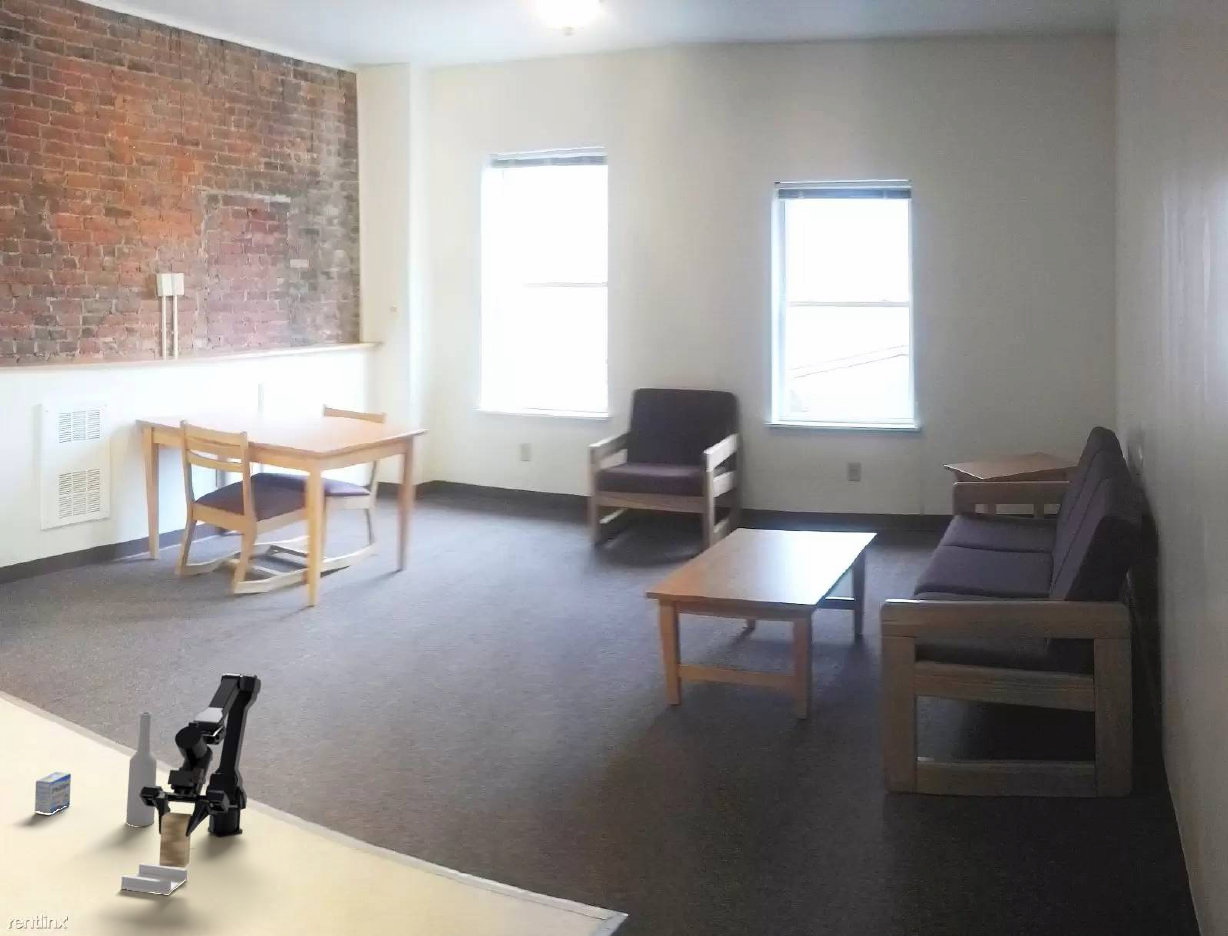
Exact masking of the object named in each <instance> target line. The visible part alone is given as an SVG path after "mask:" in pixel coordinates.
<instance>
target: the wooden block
mask: <svg viewBox="0 0 1228 936" xmlns="http://www.w3.org/2000/svg"><path fill="white" fill-rule="evenodd" d="M192 814H193V813H182V812H172V811H170V812H167V813H166V814H164V815H163V816H162V821H161V835H160V842H159V843H160V844H159V845H160V847H159V861H158V862H159V864H158V865H159V866H169V867H177V868H184V869H185V867H186V866H187V865H188V864H189V863H190V855H191V854H190V853H191V851H190V850H191V848H190V847H191V836H192V833H191V834H190V835H189V836H188V837H186V835H185V834H186V831H187V827H188V824H189V822H190V819H191V816H192Z"/></svg>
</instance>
